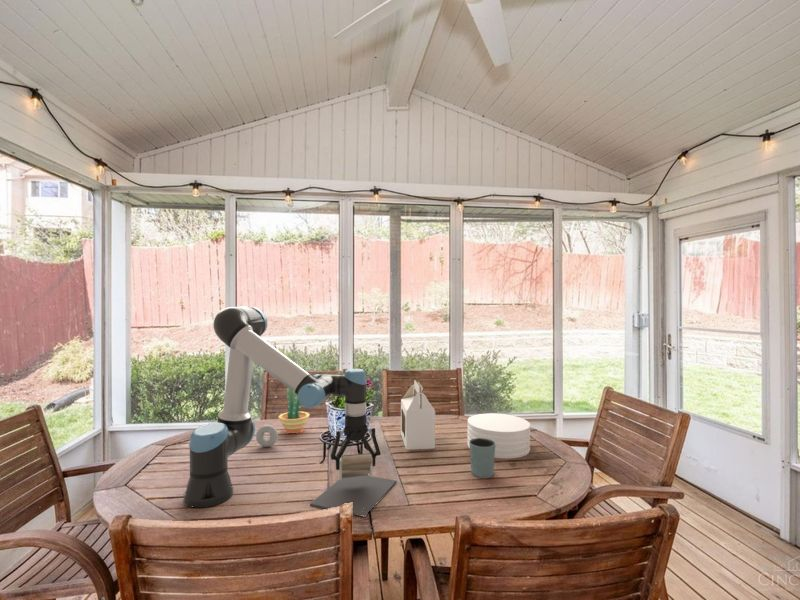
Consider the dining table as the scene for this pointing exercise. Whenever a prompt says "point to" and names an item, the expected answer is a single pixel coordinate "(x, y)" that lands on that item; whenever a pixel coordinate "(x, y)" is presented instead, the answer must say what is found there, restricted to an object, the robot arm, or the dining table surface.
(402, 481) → the dining table surface
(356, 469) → the birch tile
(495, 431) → the plate stack
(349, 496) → the rubber mat
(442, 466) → the dining table surface
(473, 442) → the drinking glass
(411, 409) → the gable box
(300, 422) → the potted cactus
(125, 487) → the dining table surface
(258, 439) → the donut
